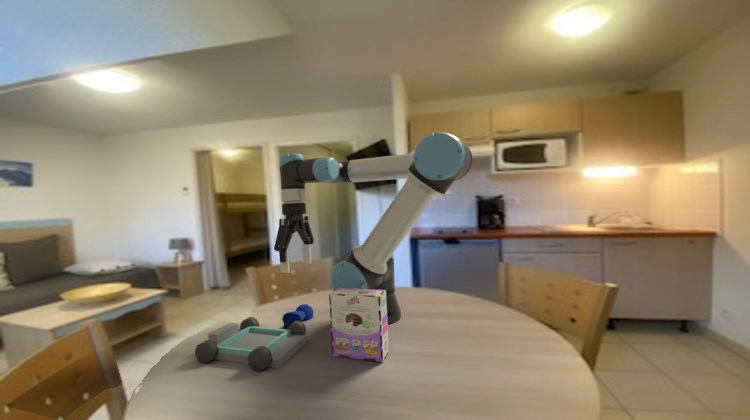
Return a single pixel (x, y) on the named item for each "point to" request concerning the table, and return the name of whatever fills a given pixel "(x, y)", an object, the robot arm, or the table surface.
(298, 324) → the chassis
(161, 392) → the table surface
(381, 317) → the candy box
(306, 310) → the toy
